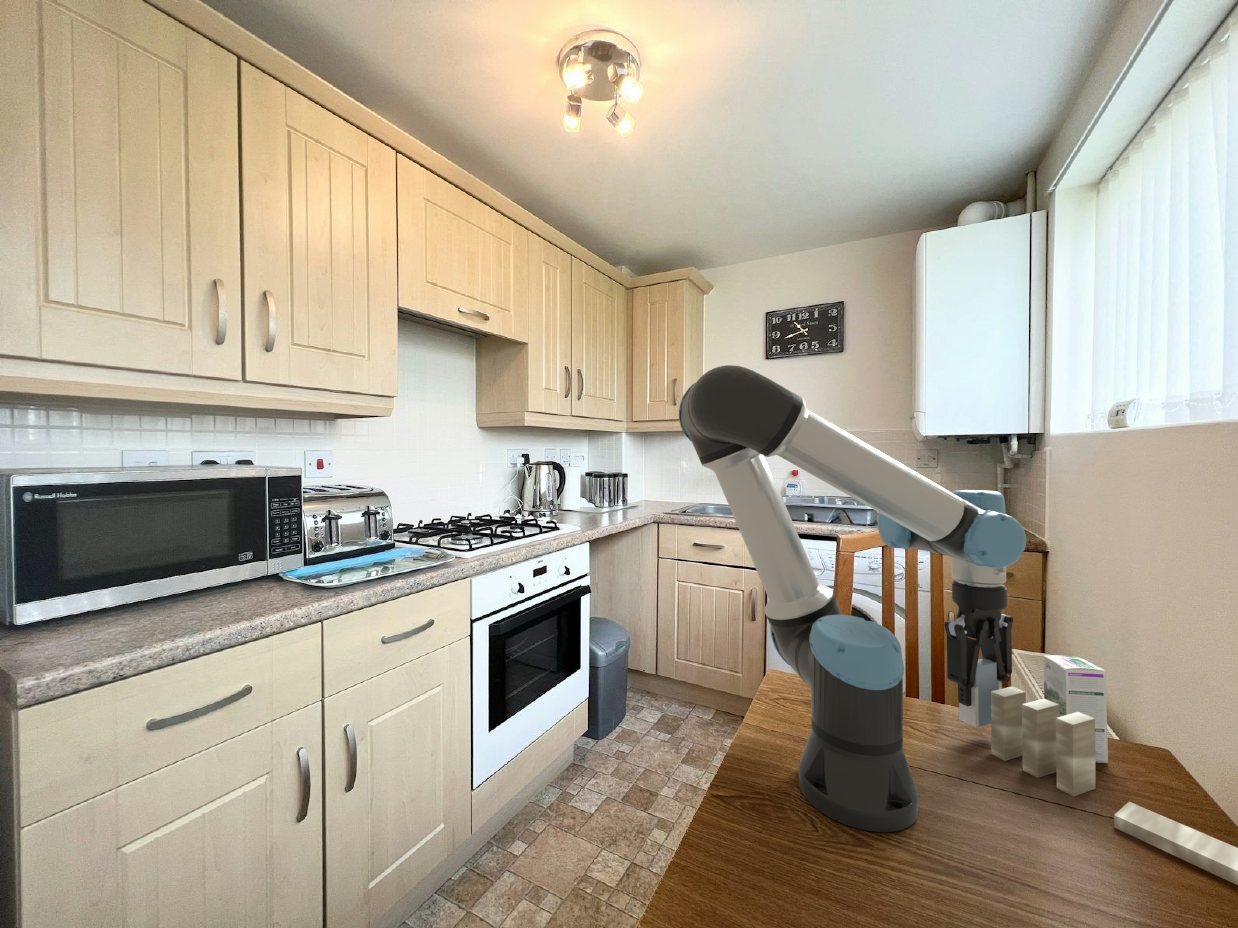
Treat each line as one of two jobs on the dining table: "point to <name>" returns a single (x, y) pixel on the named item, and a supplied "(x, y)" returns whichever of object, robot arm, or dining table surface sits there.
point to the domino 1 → (985, 688)
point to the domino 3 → (1039, 737)
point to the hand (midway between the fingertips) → (980, 719)
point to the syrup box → (1079, 693)
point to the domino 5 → (1179, 840)
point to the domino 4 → (1075, 753)
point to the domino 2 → (1007, 722)
